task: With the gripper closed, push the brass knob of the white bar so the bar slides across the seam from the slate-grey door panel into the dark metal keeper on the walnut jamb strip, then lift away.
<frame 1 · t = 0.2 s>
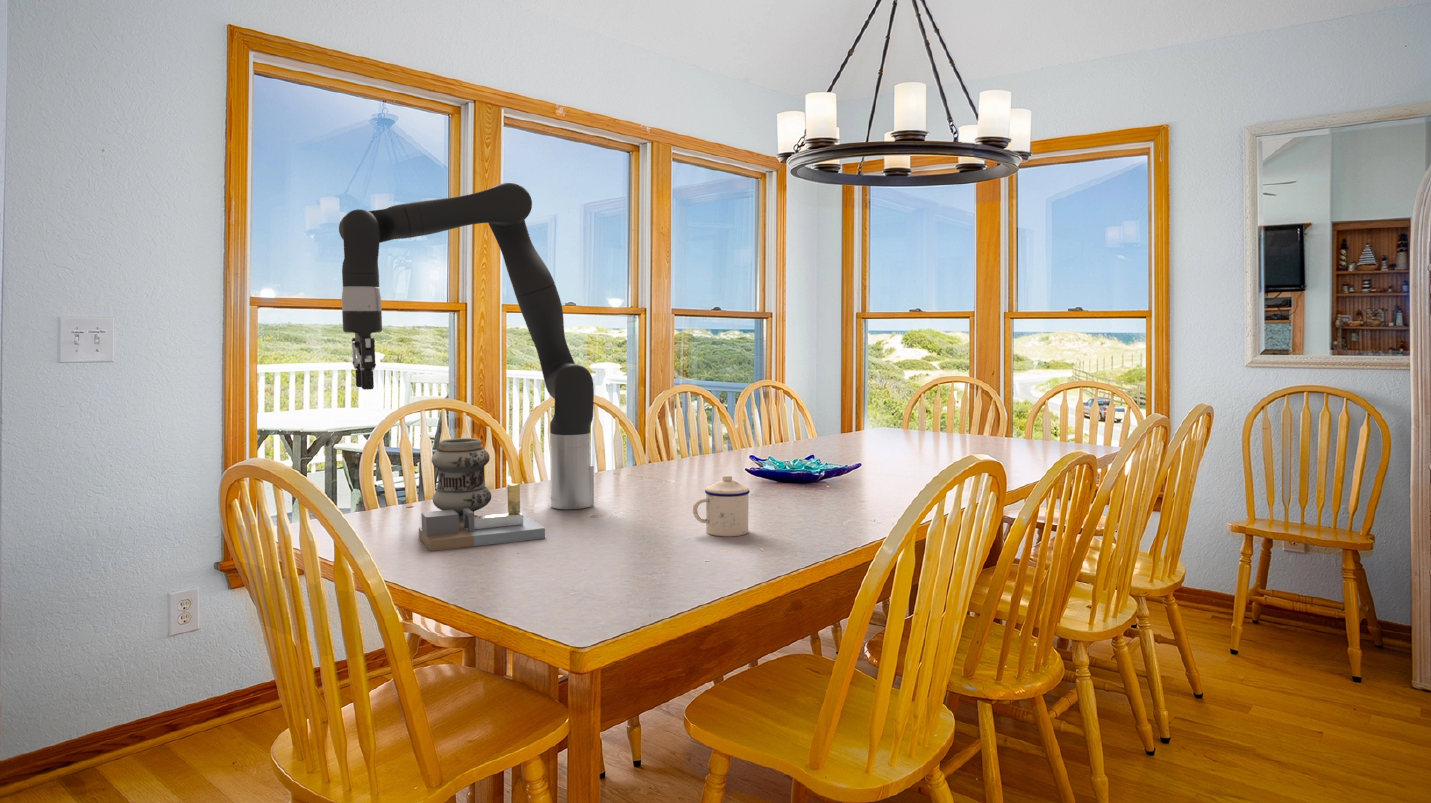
hand: (364, 388, 185), 29 cm above the table, fingers open, 8 cm apart
door and jamb lock plate: (482, 537, 177), on the table
apothecary jar: (462, 524, 190), on the table
teacup with lid: (720, 533, 182), on the table
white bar: (496, 505, 178), point 6 cm above the table, slide at 0.0 cm
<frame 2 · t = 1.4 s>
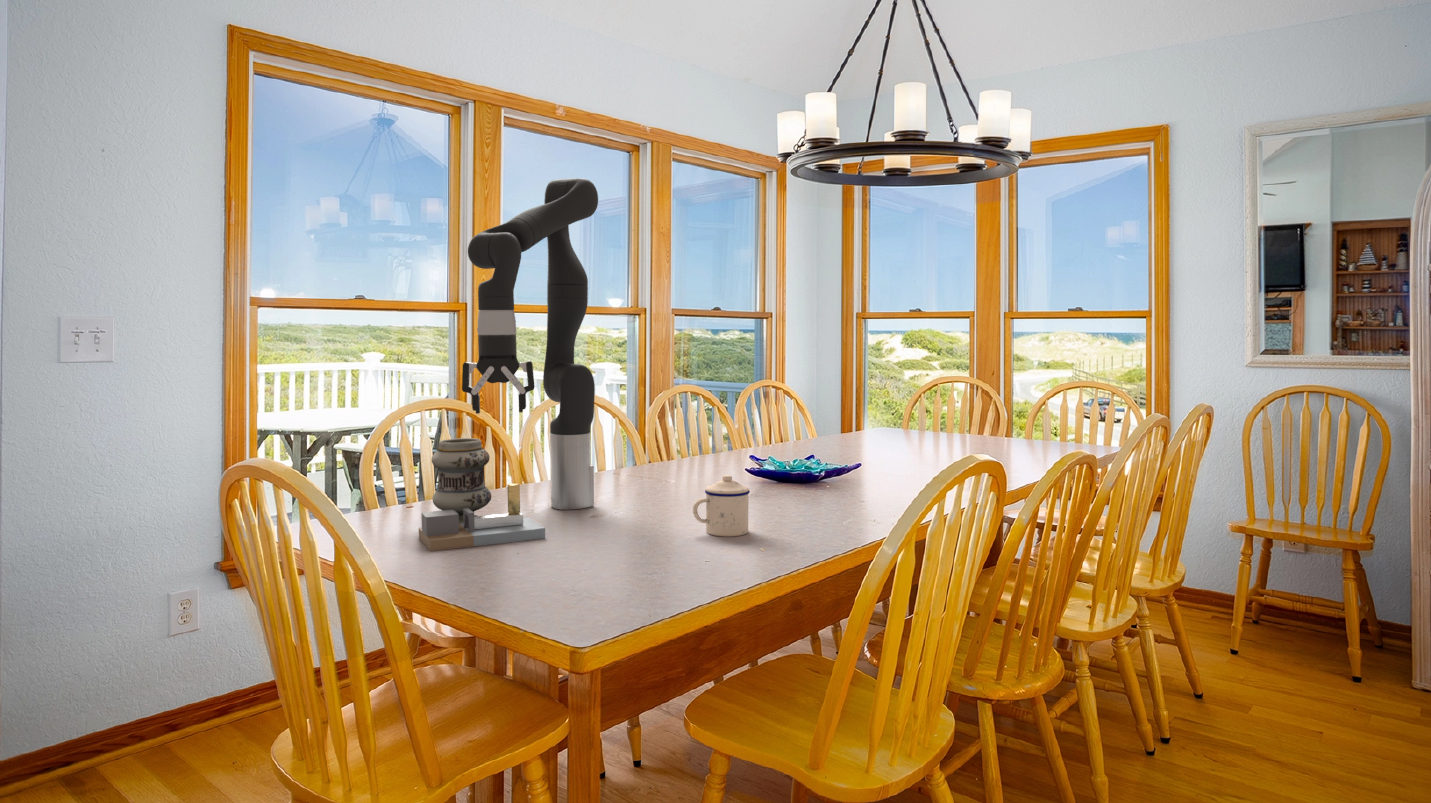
hand: (499, 412, 182), 24 cm above the table, fingers open, 8 cm apart
nothing on the table moved.
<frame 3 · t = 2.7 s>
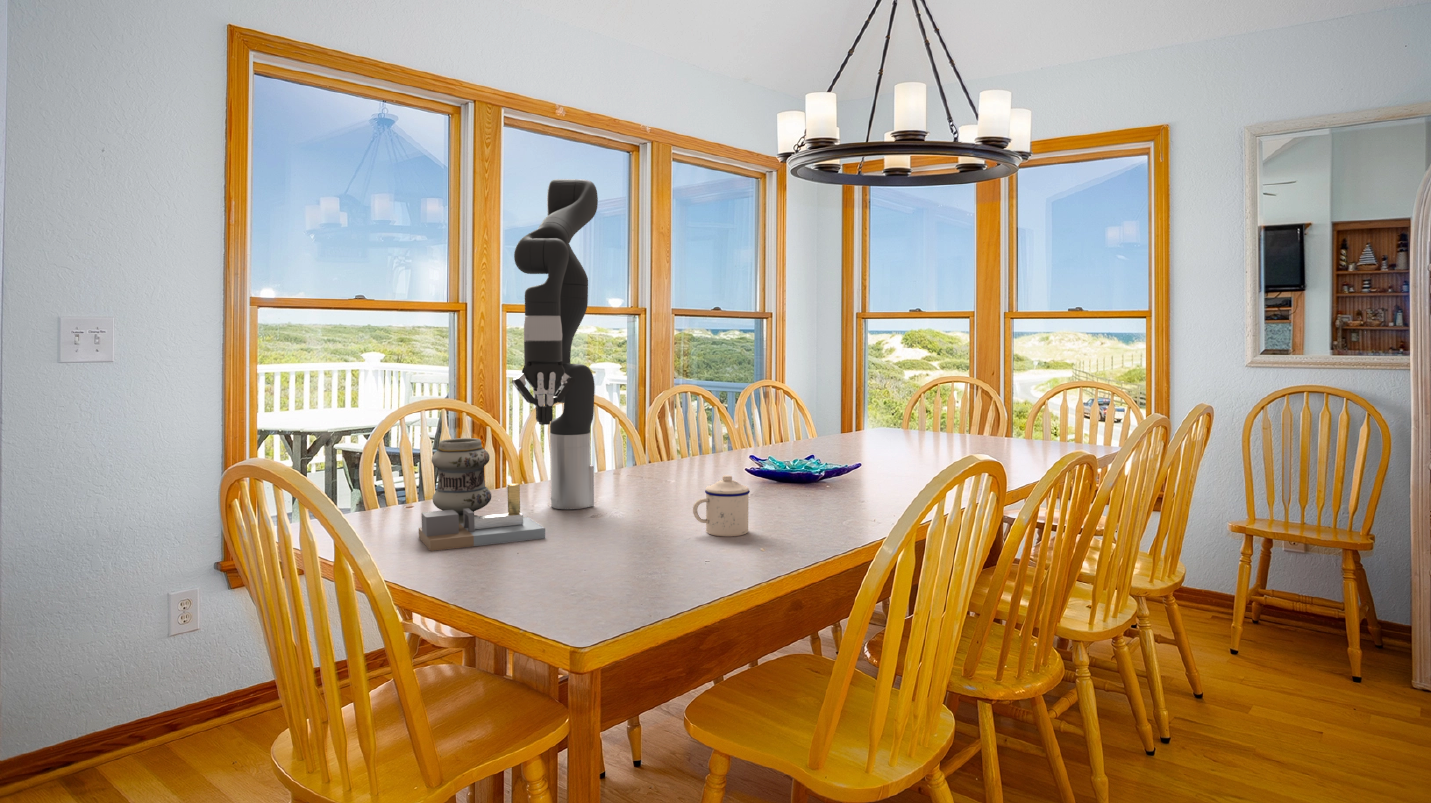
hand: (544, 424, 181), 22 cm above the table, fingers closed
nothing on the table moved.
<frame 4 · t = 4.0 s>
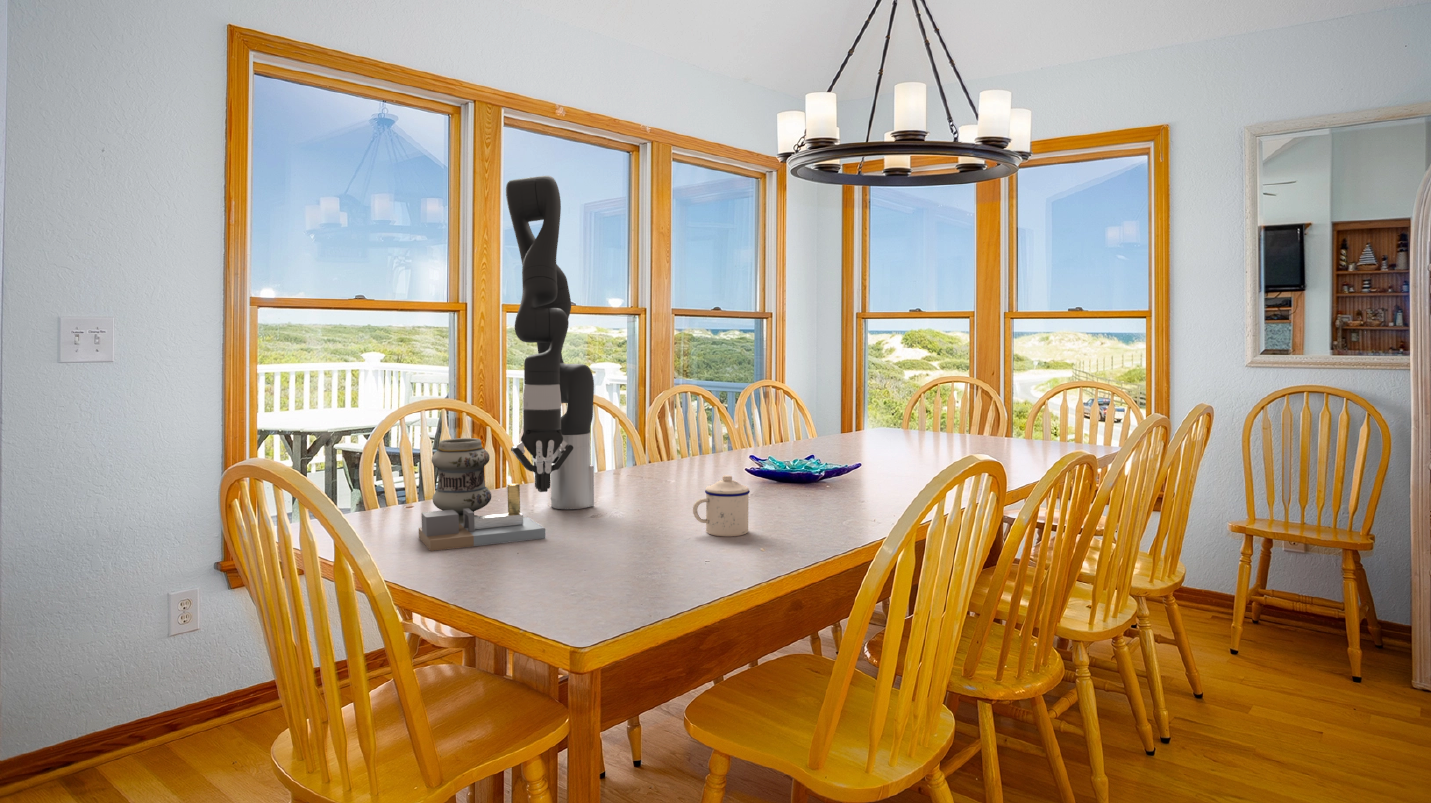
hand: (542, 491, 182), 8 cm above the table, fingers closed
nothing on the table moved.
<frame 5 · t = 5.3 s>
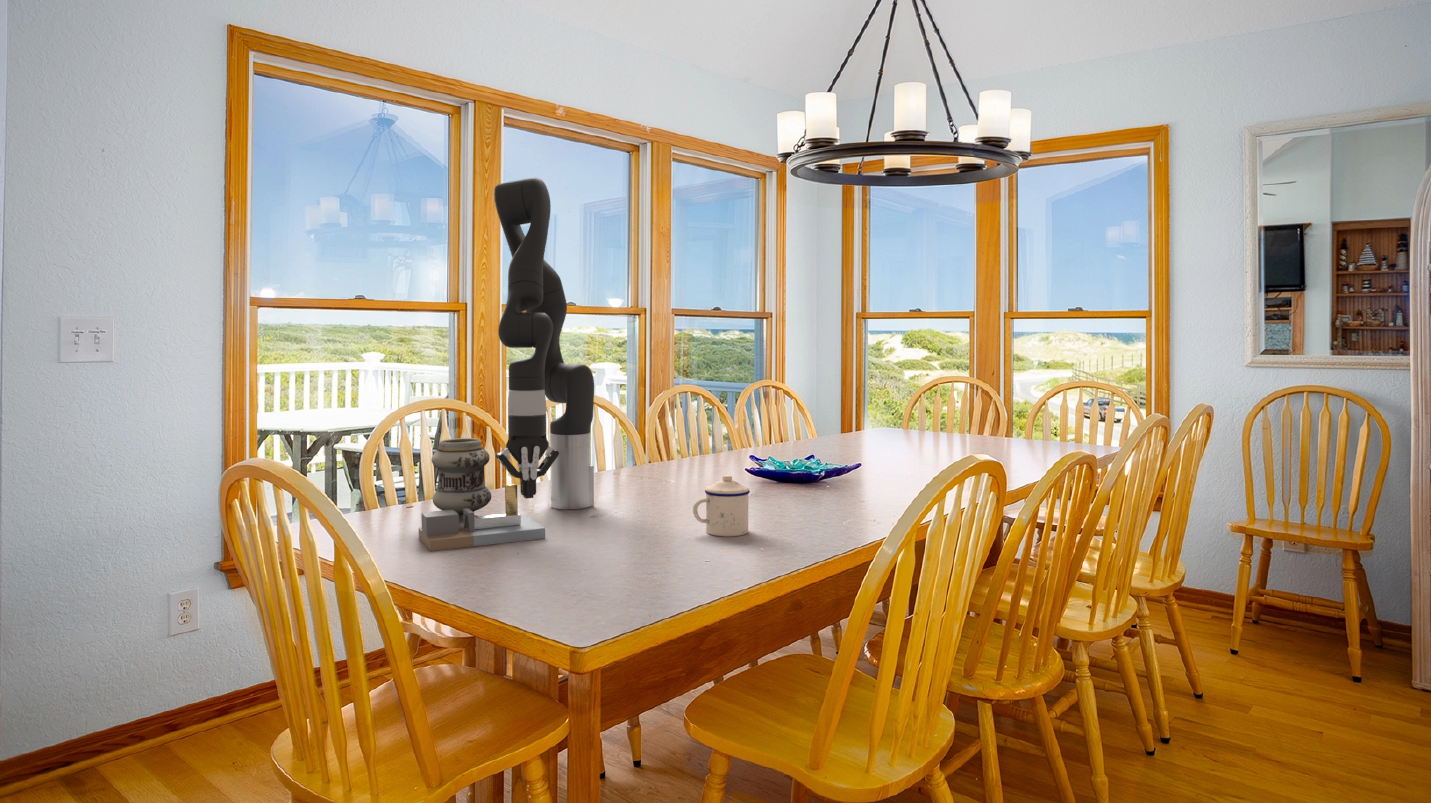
hand: (528, 497, 181), 7 cm above the table, fingers closed
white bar: (494, 506, 178), point 6 cm above the table, slide at 0.5 cm, touching gripper
everything else where it was.
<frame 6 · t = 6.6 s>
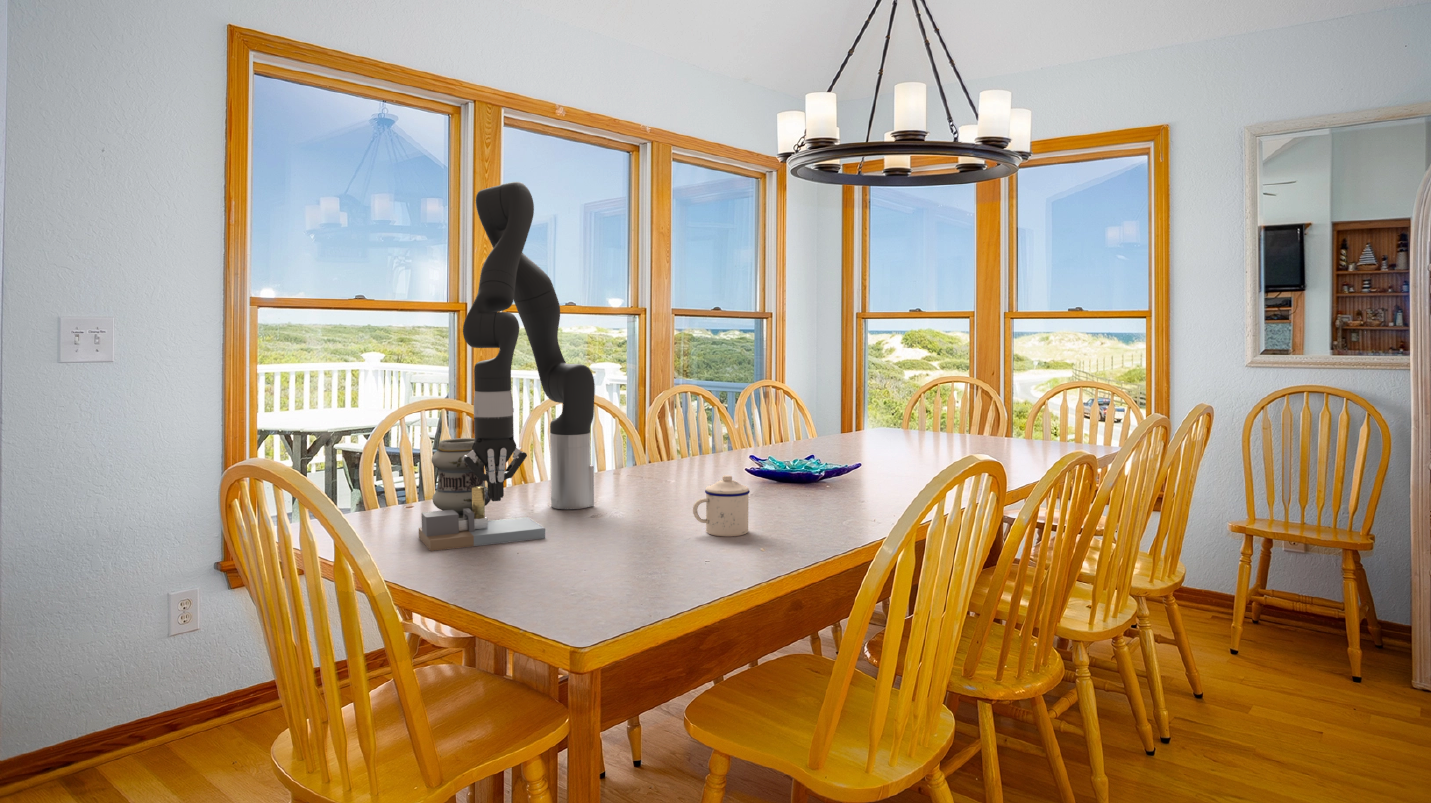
hand: (495, 500, 178), 7 cm above the table, fingers closed
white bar: (460, 509, 175), point 6 cm above the table, slide at 7.1 cm, touching gripper
everything else where it was.
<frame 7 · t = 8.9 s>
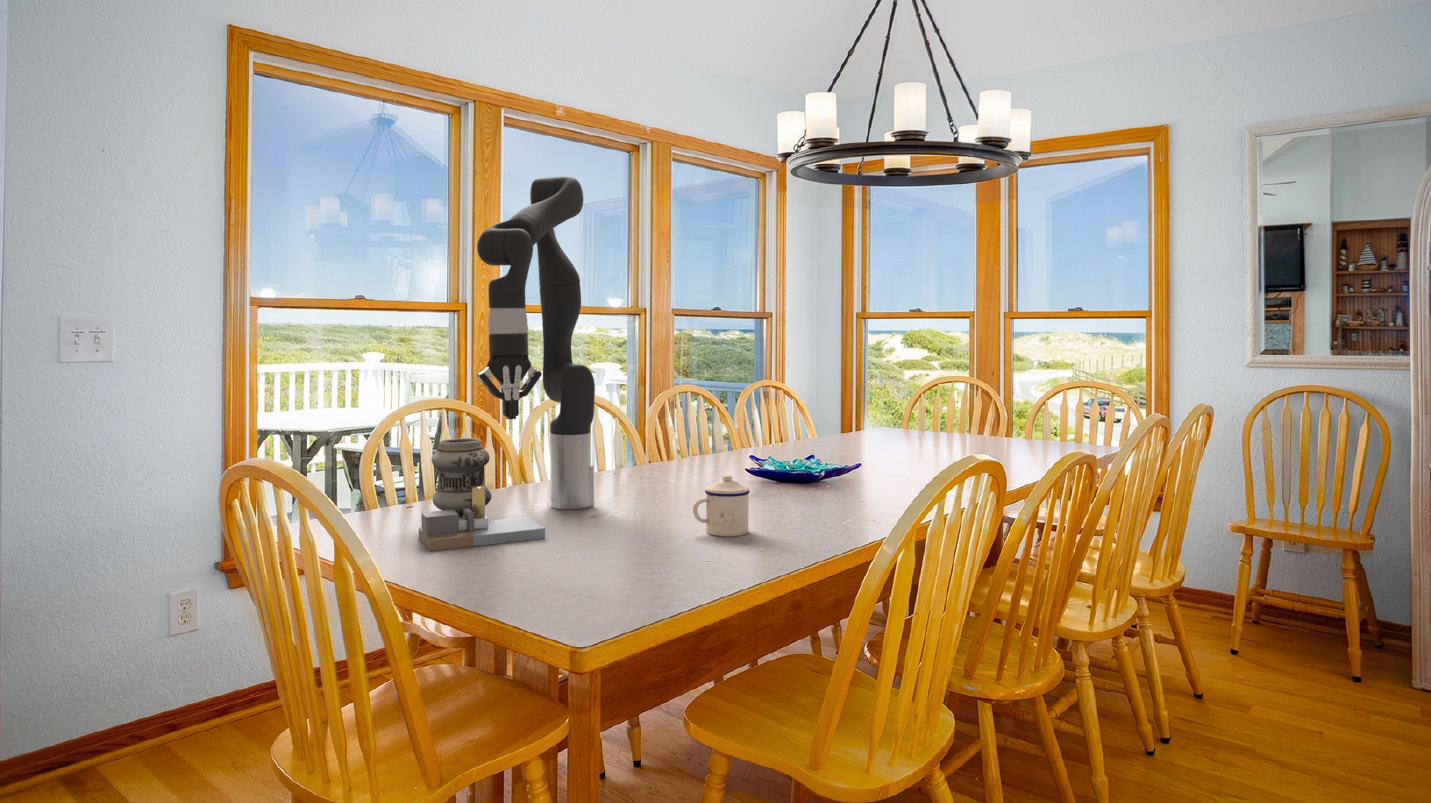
hand: (511, 418, 178), 23 cm above the table, fingers closed
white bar: (460, 509, 175), point 6 cm above the table, slide at 7.0 cm
everything else where it was.
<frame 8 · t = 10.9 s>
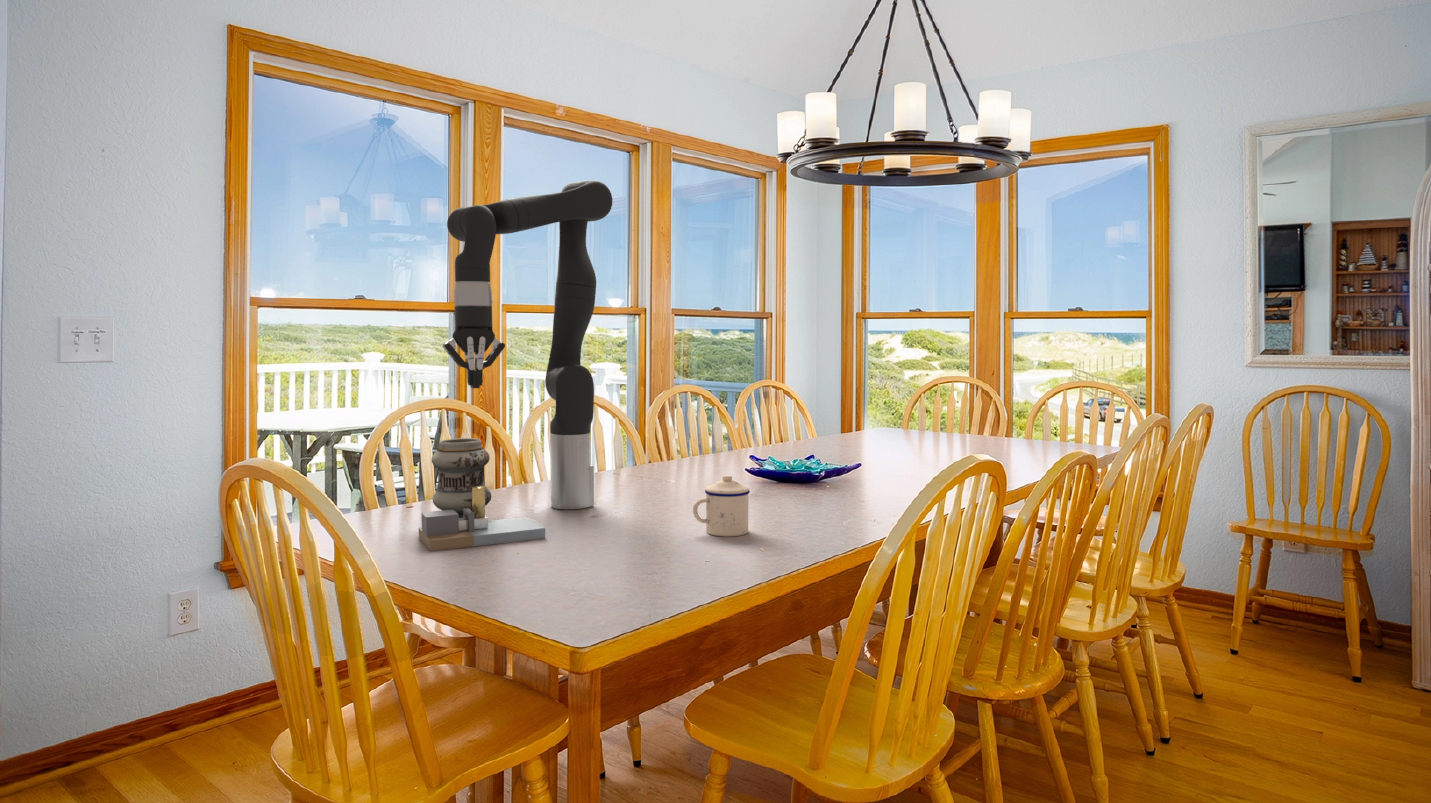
hand: (475, 387, 186), 29 cm above the table, fingers closed
nothing on the table moved.
at the end: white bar slide at 7.0 cm; apothecary jar moved 0.2 cm from its start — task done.
